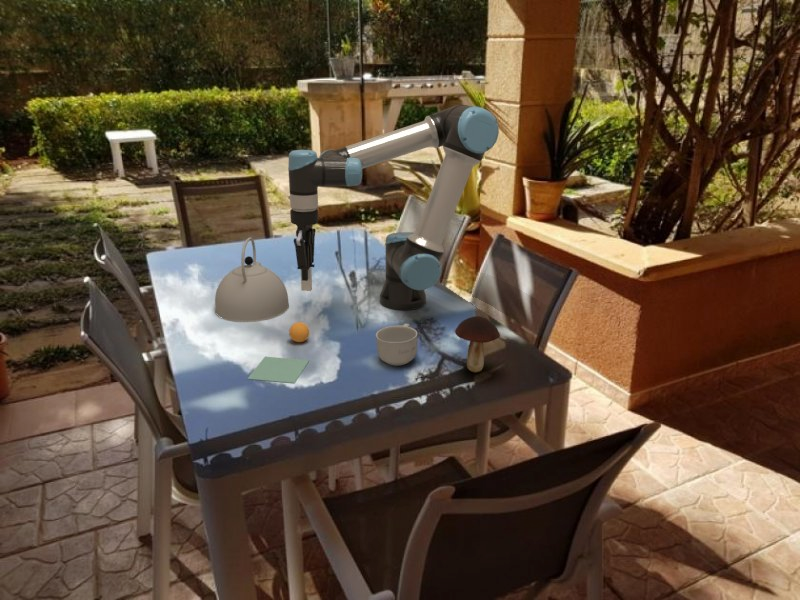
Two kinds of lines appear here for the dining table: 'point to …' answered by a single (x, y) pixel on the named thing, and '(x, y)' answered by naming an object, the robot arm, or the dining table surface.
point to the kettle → (251, 292)
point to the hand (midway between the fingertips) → (306, 289)
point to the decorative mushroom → (476, 339)
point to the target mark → (278, 369)
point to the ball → (299, 332)
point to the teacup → (397, 344)
